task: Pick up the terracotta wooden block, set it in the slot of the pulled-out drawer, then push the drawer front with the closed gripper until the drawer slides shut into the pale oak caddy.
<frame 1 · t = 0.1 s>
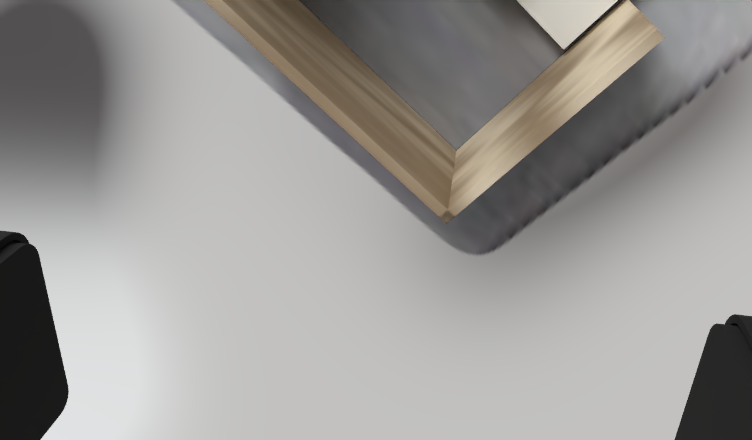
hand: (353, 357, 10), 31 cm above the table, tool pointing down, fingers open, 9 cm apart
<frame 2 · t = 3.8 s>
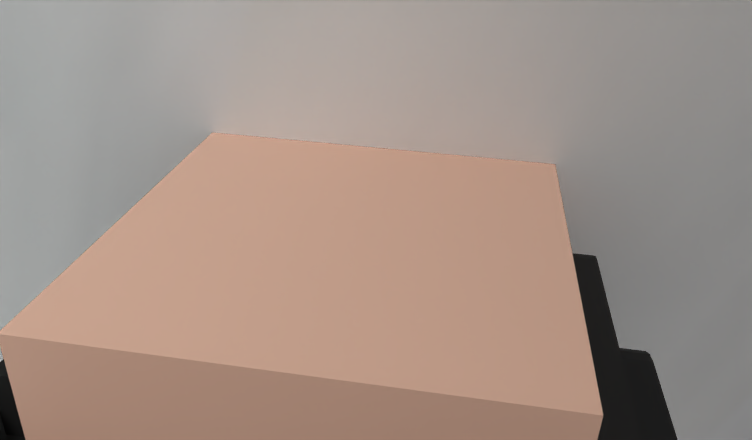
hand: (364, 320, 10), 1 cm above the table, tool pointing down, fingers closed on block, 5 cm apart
block: (372, 293, 11), on the table, touching gripper
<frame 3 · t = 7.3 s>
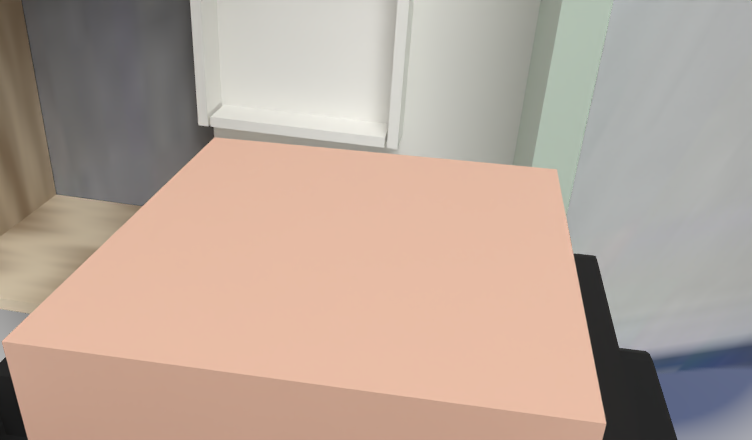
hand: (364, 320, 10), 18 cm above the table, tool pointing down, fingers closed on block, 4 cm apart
caddy: (214, 9, 27), on the table
block: (374, 297, 11), point 17 cm above the table, touching gripper
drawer: (365, 54, 22), point 4 cm above the table, slide at 8.0 cm
when the fingers open (4 cm above the table, at t = 10.8 s): block drops 2 cm, resting on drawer.
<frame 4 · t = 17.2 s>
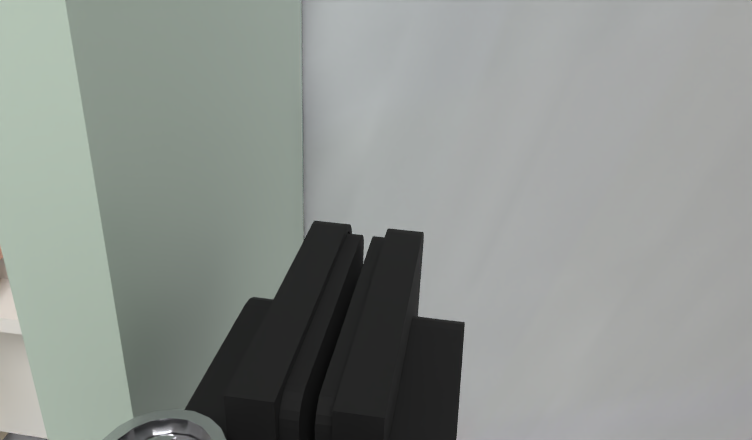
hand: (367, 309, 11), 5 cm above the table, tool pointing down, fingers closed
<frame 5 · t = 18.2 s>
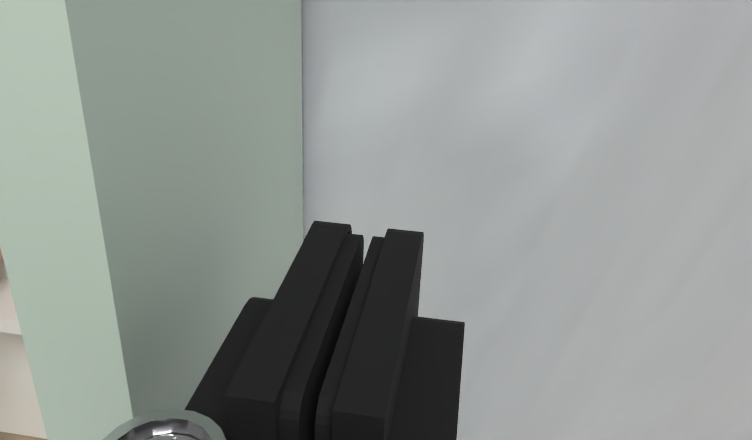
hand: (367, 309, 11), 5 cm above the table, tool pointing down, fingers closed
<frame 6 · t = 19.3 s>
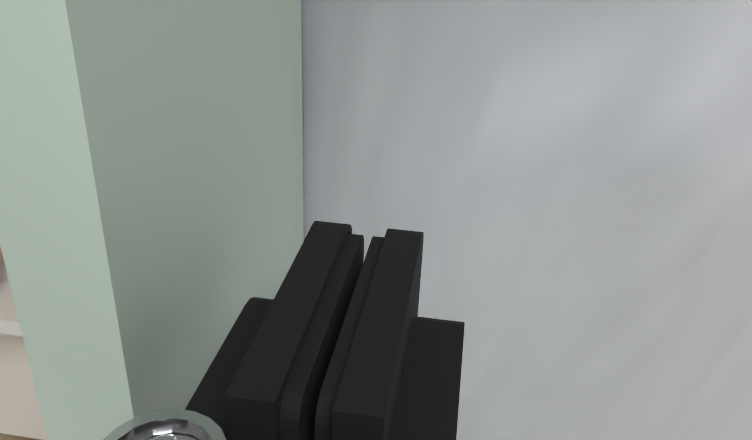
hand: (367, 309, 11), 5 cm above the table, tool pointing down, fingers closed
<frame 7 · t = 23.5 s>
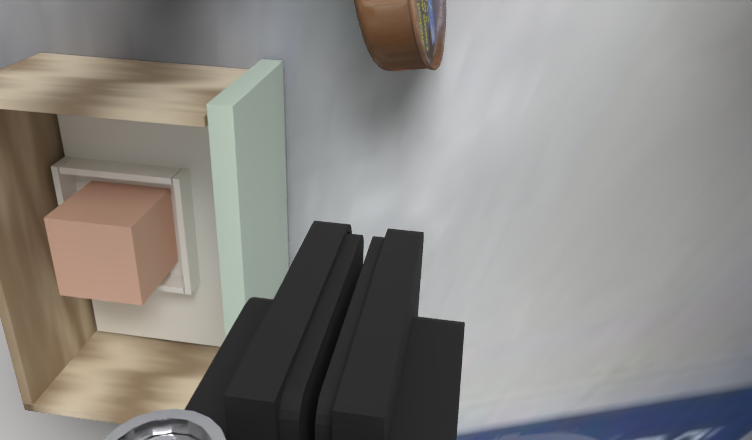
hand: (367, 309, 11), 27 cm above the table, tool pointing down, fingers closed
caddy: (203, 220, 43), on the table
block: (135, 221, 42), point 1 cm above the table, touching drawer
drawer: (154, 252, 39), point 4 cm above the table, slide at 0.0 cm, touching block
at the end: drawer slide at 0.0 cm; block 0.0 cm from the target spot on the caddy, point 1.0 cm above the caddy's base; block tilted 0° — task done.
